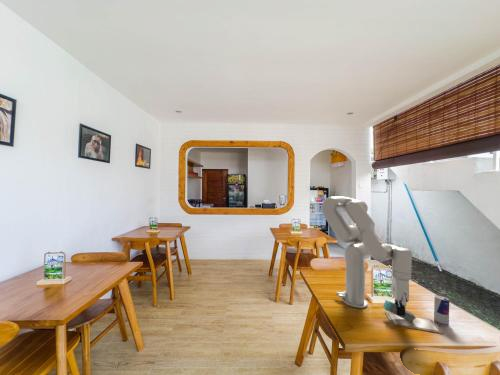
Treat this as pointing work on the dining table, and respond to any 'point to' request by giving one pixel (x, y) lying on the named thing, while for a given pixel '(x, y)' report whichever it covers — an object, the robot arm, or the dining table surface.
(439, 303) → the energy drink
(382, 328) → the dining table surface
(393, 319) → the clipboard
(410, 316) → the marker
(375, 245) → the robot arm
